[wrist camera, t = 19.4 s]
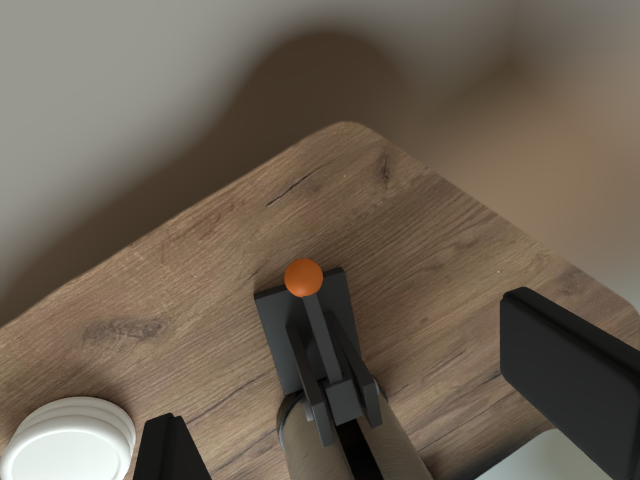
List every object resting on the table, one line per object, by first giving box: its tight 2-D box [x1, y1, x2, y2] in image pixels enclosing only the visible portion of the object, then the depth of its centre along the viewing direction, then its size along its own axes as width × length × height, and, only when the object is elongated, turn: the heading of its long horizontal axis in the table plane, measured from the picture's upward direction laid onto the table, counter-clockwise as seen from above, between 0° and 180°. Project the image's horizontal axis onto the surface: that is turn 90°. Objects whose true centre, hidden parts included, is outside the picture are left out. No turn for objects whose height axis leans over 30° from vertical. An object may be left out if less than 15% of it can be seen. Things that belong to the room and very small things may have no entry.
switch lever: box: [284, 259, 363, 426], centre depth 30 cm, size 13×3×3 cm
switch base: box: [254, 267, 383, 448], centre depth 33 cm, size 12×9×12 cm
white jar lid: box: [0, 397, 136, 480], centre depth 33 cm, size 10×10×4 cm
